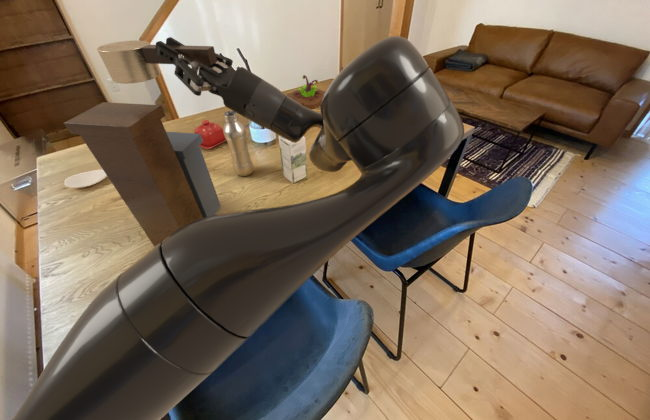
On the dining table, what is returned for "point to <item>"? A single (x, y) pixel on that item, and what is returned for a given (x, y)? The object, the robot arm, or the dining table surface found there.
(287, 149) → the syrup box
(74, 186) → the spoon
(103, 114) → the tall stand
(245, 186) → the dining table surface
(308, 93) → the plant
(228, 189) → the dining table surface
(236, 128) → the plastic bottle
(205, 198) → the blue-grey block
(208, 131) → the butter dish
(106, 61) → the milk pan
